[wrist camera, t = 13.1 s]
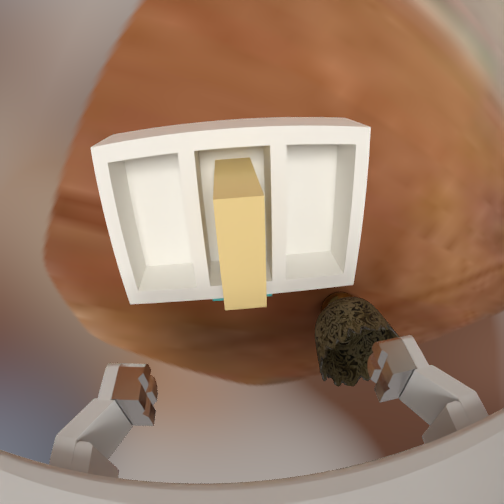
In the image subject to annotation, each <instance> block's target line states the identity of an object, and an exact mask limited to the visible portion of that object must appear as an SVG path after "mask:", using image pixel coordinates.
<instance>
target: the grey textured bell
mask: <svg viewBox="0 0 504 504" xmlns="http://www.w3.org/2000/svg"><path fill="white" fill-rule="evenodd" d="M397 337H399V336H398V335H397V333H396V332H395V331H394V330H393V329H392V327H391V326H390V325H389V323H388V322H387V321H386V320H385V318H384V317H383V316H382V315H381V314H380V312H379V311H378V310H377V309H376V308H375V307H374V306H373V305H372V304H370V303H369V302H368V301H366V300H364V299H361V298H358V297H353V296H351V295H350V294H348V293H345V292H337V293H334V294H332V295H330V296H328V297H327V298H326V299H325V300H324V302H323V304H322V307H321V313H320V315H319V317H318V319H317V321H316V325H315V343H316V349H317V356H318V361H319V367H320V373H321V375H322V379H323V380H324V381H325V380H327V377H328V378H329V377H330V378H332V379H333V381H334V384H335V385H337V386H340V385H341V383H344V384H345V385H348V386H354V385H355V384H356V383H357V382H358V380H359V379H360V378H361V377H362V378H363V379H364V380H366V381H368V380H370V377H369V374H368V369H367V362H368V359H369V356H370V355H371V354H372V353H373V351H372V346H373V344H374V343H375V342H378V341H383V340H387V339H392V338H397Z"/></svg>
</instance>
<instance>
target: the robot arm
mask: <svg viewBox="0 0 504 504" xmlns="http://www.w3.org/2000/svg"><path fill="white" fill-rule="evenodd" d="M372 351H373V353H372V354H371V355H370V356H369V359H368V362H367V369H368V374H369V377H370V379H371V380H372V381H373V382H375V383H376V386H375V392H376V394H377V397H378V399H379V402H384V401H388V400H392V399H396V398H399V399H400V400H401V401H402V402H403V403H405V404H406V405H407V406H408V407H409V408H410V409H412V410H413V411H414V412H415V413H416V414H417V415H418V416H420V417H421V418H422V419H423V420H424V421H426V422H427V423H428V424H429V425H430V427H429V428H428V429H427V430H426V431H425V433H424V434H423V436H422V438H423V441H424V443H425V444H424V445H421V446H418V447H415V448H412V449H409V450H406V451H403V452H400V453H397V454H394V455H390V456H387V457H384V458H380V459H377V460H373V461H369V462H366V463H362V464H358V465H354V466H350V467H345V468H341V469H336V470H332V471H326V472H321V473H315V474H310V475H304V476H298V477H290V478H283V479H274V480H265V481H254V482H240V483H216V484H215V483H214V484H188V483H163V482H149V481H148V482H147V481H138V480H129V479H121V478H118V475H119V470H118V469H117V467H116V466H114V465H113V464H112V463H111V462H110V461H109V460H108V459H109V458H110V456H111V455H112V454H113V452H114V451H115V450H116V448H117V447H118V446H119V444H120V443H121V442H122V440H123V439H124V438H125V436H126V435H127V434H128V432H129V431H130V430H131V428H132V427H133V426H132V425H136V426H154V421H155V412H156V410H155V409H154V407H153V404H154V403H155V402H156V401H157V395H158V393H157V384H156V381H155V378H154V377H153V376H152V375H150V373H151V369H150V367H149V365H148V364H125V363H109V364H108V365H107V366H106V369H105V373H104V377H103V381H102V384H101V388H100V392H99V396H98V399H93V400H92V401H91V402H90V403H89V404H88V405H87V406H86V407H85V408H84V409H83V410H82V411H81V412H80V413H79V414H78V415H77V416H76V417H75V418H74V419H73V420H72V421H71V422H70V423H68V424H67V426H66V427H64V428H63V429H62V430H61V431H60V432H59V433H58V434H57V435H56V438H55V442H54V446H53V449H52V453H51V458H50V462H49V465H48V464H44V463H41V462H37V461H33V460H30V459H27V458H23V457H20V456H17V455H14V454H11V453H8V452H5V451H2V450H0V504H504V408H503V409H501V410H499V411H497V412H495V413H493V414H491V415H490V416H488V414H487V412H486V410H485V408H484V406H483V404H482V402H481V400H480V399H479V397H478V395H477V393H476V392H475V391H474V390H472V389H471V388H469V387H467V386H466V385H464V384H463V383H461V382H459V381H458V380H456V379H454V378H453V377H451V376H450V375H448V374H446V373H445V372H443V371H442V370H440V369H438V368H437V367H435V366H433V365H429V364H428V362H427V361H426V359H425V357H424V355H423V354H422V352H421V350H420V348H419V347H418V345H417V343H416V341H415V340H414V338H413V337H412V336H411V335H407V336H403V337H397V338H392V339H387V340H383V341H378V342H375V343H374V344H373V346H372Z"/></svg>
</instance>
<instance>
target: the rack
mask: <svg viewBox="0 0 504 504" xmlns="http://www.w3.org/2000/svg"><path fill="white" fill-rule="evenodd" d="M370 130H371V127H369V126H366V125H364V124H361V123H358V122H356V121H353V120H350V119H347V118H333V117H275V118H250V119H233V120H219V121H208V122H197V123H188V124H179V125H171V126H164V127H156V128H150V129H143V130H137V131H131V132H125V133H119V134H114V135H111V136H109V137H107V138H106V139H104V140H102V141H101V142H99V143H97V144H95V145H94V146H92V147H91V153H92V159H93V164H94V170H95V175H96V180H97V184H98V189H99V194H100V198H101V203H102V207H103V211H104V215H105V220H106V224H107V228H108V231H109V235H110V239H111V243H112V246H113V250H114V254H115V257H116V261H117V264H118V267H119V271H120V274H121V277H122V281H123V284H124V287H125V290H126V293H127V296H128V299H129V302H130V304H145V303H162V302H177V301H192V300H205V299H213V301H221V300H224V297H223V289H222V280H221V272H220V263H219V254H218V245H217V235H216V226H215V216H214V206H213V187H214V169H215V160H221V159H233V158H248V157H250V159H251V162H252V164H253V167H254V170H255V172H256V175H257V178H258V180H259V183H260V186H261V188H262V191H263V194H264V203H265V243H266V292H267V296H272V294H274V293H284V292H294V291H304V290H313V289H322V288H330V287H339V286H347V285H353V283H354V278H355V271H356V265H357V259H358V252H359V245H360V238H361V230H362V222H363V214H364V205H365V196H366V186H367V174H368V162H369V148H370Z"/></svg>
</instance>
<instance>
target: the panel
mask: <svg viewBox="0 0 504 504" xmlns="http://www.w3.org/2000/svg"><path fill="white" fill-rule="evenodd" d="M213 206H214V216H215V226H216V235H217V245H218V254H219V263H220V272H221V280H222V289H223V297H224V305H225V310H236V309H247V308H258V307H267V292H266V243H265V203H264V194H263V191H262V188H261V186H260V183H259V180H258V178H257V175H256V172H255V170H254V167H253V164H252V162H251V159H250V157H248V158H233V159H221V160H215V169H214V187H213Z"/></svg>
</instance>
